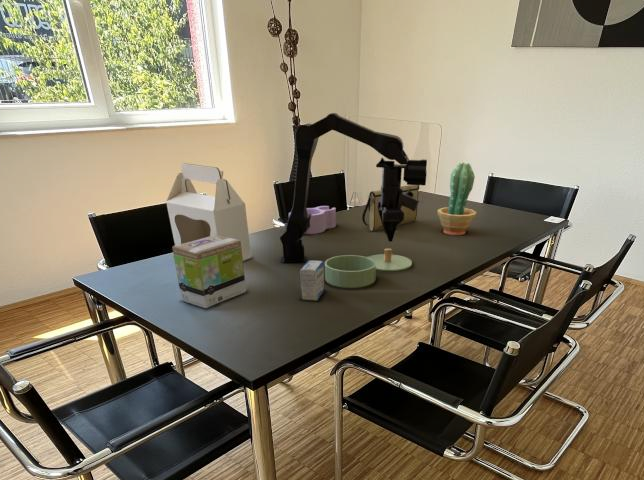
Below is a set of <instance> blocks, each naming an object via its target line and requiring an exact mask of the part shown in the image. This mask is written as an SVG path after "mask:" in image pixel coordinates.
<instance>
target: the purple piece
mask: <svg viewBox="0 0 644 480" xmlns="http://www.w3.org/2000/svg"><path fill="white" fill-rule="evenodd" d="M306 209H307V214H311V218H310V227H309V229H308V230H307V231H306V232H305V234H304V235H317V234H321V233H323V232H325V231H326V230H328V229H333V228H336V227H337V212H336V211H337V210H336V209H337V208H336V207H331V208H330V206H329V205H320V206H316V207H306ZM290 214H291V212H288V218H289V217H290Z"/></svg>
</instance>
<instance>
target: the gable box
mask: <svg viewBox="0 0 644 480" xmlns="http://www.w3.org/2000/svg"><path fill="white" fill-rule="evenodd" d="M223 177H224V170H220V169H219V167H216V166H209V165H201V164H195V163H187V162H182V163H181V172H180V173H179V172H178V173H177V176H176V177H175V180H174V183H173V185H172V187H171V189H170V192H169V194H168V197H167V199H166V201H165V203H166V208H167V212H168V213H167V214H168V218H169V223H170V228H171V233H172V237H173V238H172V239H173V243H174V246H176V245H180V244H184V243H187V242H191V241H195V240H198V239H202V238H206V237H209V236H213V235H218V236H223V237H227V238H232V239H236V240H240V241H241V247H242V258H243V262H244V261H247V260H250V259H252V252H251V243H250V233H249V225H248V217H247V216H248V215H247V208H246V202H244V200H243V199H242V198H241V197H240V195H239V193H237V191H236V190H235V189H234V187H233V186H232V185H231V184H230V182H229V181H228V180H227V179H226V178H223ZM192 181H195V182H203V183H209V184H215V185H216V187H215V196H213V195H207V194H201V193H198V192H197V190H196V188H195V186H194V184H193V183H192Z"/></svg>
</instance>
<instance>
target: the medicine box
mask: <svg viewBox="0 0 644 480" xmlns="http://www.w3.org/2000/svg"><path fill="white" fill-rule="evenodd" d="M299 271H300V287H301V289H300V290H301V300H304V301H314V302H317V301H318V300H319V299H320V297H321V296H322V294H323V293H324V292H325V269H324V261H323V260H307V262H306V263H305V264H304V265H303V266H302V267H301V269H300V270H299Z"/></svg>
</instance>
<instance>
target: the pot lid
mask: <svg viewBox="0 0 644 480" xmlns="http://www.w3.org/2000/svg"><path fill="white" fill-rule="evenodd" d="M383 252H384V253H379V254H378V253H377V254H372V255H369V256H367V257H368V258H370V259H373V260H374V261H375V262H376V271H380V272H381V271H382V272H400V271H404V270H408V269H409V268H411V267H412V266H413V261H412V259H410V258H408V257H406V256H403V255H399V254H393V249H392V248H389V247H385V249H384V251H383Z"/></svg>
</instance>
